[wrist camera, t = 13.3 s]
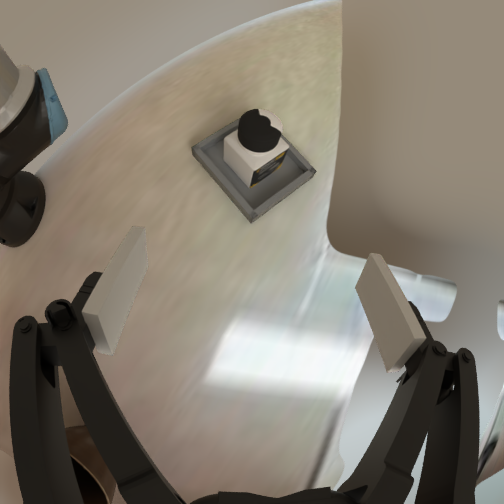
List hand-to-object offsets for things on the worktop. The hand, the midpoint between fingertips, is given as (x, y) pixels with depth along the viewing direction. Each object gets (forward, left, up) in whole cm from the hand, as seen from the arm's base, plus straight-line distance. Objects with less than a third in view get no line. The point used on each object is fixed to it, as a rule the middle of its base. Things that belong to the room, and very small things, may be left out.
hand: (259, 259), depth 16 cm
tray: (-14, +15, -28) cm, 35 cm away
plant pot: (+7, -38, -28) cm, 47 cm away
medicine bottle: (-14, +15, -27) cm, 34 cm away
